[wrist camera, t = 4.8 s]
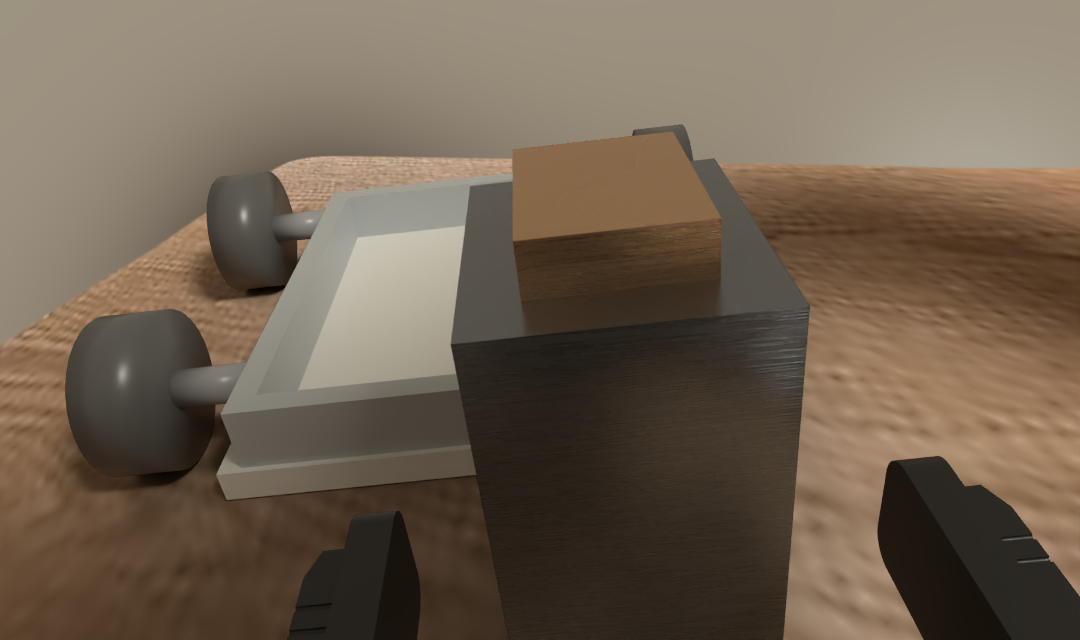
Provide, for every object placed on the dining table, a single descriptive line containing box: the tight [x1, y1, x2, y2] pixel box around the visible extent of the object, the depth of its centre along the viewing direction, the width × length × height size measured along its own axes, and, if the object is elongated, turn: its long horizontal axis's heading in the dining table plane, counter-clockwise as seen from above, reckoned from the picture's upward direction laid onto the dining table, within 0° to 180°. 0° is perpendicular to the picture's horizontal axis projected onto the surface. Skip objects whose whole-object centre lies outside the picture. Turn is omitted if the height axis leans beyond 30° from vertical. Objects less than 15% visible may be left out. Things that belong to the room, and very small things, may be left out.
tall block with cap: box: [451, 131, 810, 640], centre depth 16 cm, size 5×6×11 cm
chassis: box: [65, 125, 693, 500], centre depth 30 cm, size 20×17×5 cm
